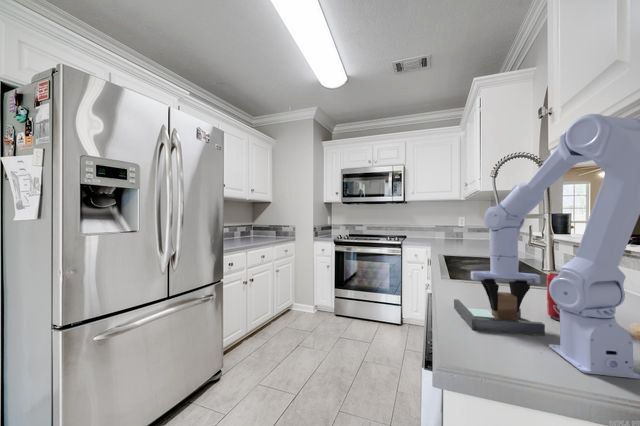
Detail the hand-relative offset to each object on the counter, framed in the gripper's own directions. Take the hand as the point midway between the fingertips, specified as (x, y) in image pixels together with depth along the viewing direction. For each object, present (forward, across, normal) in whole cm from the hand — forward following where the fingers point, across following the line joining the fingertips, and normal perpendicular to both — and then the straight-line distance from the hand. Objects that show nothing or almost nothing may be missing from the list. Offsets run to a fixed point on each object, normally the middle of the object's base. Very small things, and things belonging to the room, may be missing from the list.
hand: (504, 310), depth 66 cm
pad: (+3, +3, -6) cm, 8 cm away
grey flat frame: (+3, +2, -2) cm, 4 cm away
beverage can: (+3, -16, -7) cm, 18 cm away
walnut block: (+2, 0, 0) cm, 2 cm away
